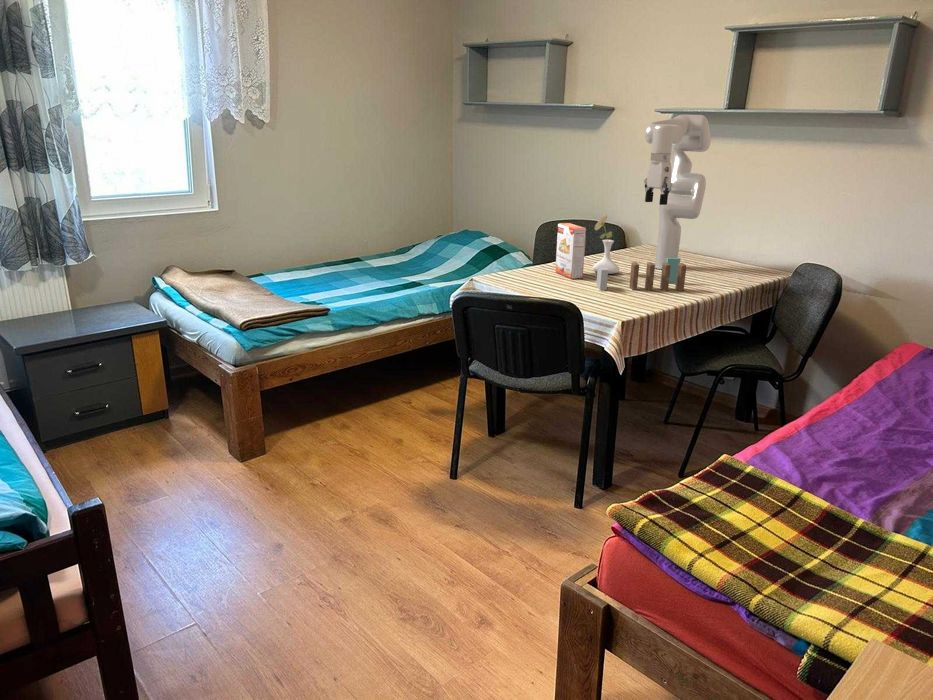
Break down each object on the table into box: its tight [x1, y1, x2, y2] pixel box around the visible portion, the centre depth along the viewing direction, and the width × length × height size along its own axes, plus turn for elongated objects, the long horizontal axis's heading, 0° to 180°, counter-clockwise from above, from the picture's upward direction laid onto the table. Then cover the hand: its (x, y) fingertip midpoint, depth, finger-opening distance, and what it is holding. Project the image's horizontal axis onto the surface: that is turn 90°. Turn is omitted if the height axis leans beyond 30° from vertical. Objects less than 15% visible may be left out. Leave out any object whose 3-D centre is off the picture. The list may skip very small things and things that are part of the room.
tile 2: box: [659, 263, 671, 292], centre depth 276 cm, size 2×5×10 cm, turn 0°
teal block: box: [666, 257, 681, 284], centre depth 287 cm, size 2×5×10 cm, turn 90°
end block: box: [596, 266, 609, 291], centre depth 276 cm, size 8×2×8 cm, turn 0°
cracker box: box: [555, 222, 587, 280], centre depth 295 cm, size 14×6×21 cm, turn 21°
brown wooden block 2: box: [674, 262, 687, 292], centre depth 276 cm, size 2×5×10 cm, turn 0°
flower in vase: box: [591, 214, 620, 275], centre depth 300 cm, size 13×11×25 cm
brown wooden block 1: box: [629, 261, 640, 291], centre depth 276 cm, size 2×5×10 cm, turn 0°
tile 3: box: [644, 261, 656, 291], centre depth 276 cm, size 2×5×10 cm, turn 0°
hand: (655, 203), depth 280 cm, fingers open, 9 cm apart
